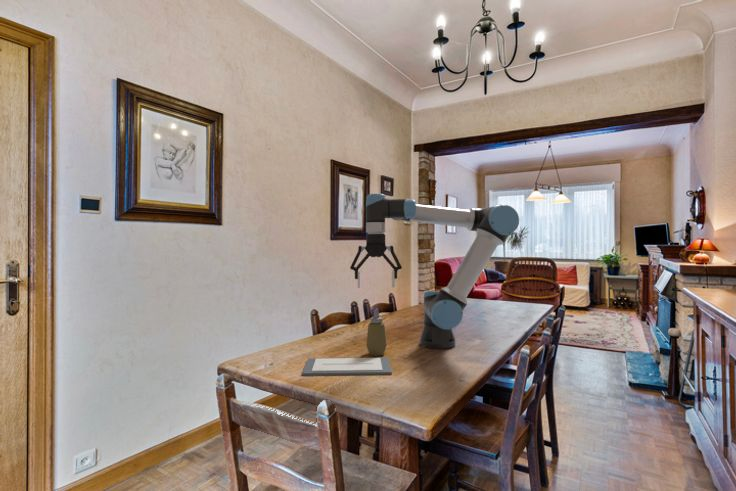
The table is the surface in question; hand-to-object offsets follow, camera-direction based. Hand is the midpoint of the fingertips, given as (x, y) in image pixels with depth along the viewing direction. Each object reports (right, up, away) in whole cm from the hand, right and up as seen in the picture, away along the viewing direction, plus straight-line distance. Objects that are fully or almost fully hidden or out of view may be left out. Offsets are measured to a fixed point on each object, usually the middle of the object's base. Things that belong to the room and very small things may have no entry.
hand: (376, 287), depth 152 cm
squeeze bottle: (0, -27, +1) cm, 27 cm away
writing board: (-10, -27, -15) cm, 32 cm away
